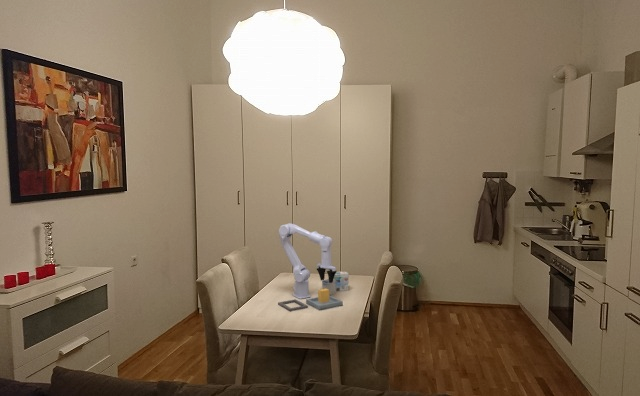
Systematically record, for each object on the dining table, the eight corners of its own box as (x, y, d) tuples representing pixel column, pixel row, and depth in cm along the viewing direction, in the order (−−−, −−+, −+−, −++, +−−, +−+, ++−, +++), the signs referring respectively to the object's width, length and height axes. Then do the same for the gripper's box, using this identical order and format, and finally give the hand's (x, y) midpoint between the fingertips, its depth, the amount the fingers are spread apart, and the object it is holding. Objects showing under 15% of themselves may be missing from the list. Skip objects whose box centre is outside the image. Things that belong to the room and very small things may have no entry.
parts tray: (306, 303, 249) (306, 299, 249) (328, 299, 257) (328, 295, 257) (319, 310, 238) (319, 305, 237) (342, 305, 245) (342, 301, 245)
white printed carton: (332, 292, 272) (332, 274, 271) (329, 289, 279) (329, 272, 278) (349, 290, 275) (349, 273, 274) (345, 287, 281) (345, 270, 281)
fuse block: (318, 303, 247) (318, 289, 247) (325, 301, 250) (325, 288, 250) (321, 304, 244) (321, 291, 244) (329, 303, 247) (329, 289, 247)
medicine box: (330, 291, 273) (330, 277, 272) (335, 293, 270) (335, 279, 269) (321, 294, 266) (321, 280, 266) (327, 296, 264) (327, 281, 263)
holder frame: (278, 304, 248) (278, 302, 248) (295, 301, 254) (295, 299, 254) (289, 311, 236) (289, 309, 236) (307, 307, 242) (307, 305, 242)
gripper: (313, 257, 259) (313, 280, 260) (329, 260, 248) (329, 285, 249) (322, 255, 263) (322, 278, 264) (338, 259, 252) (338, 282, 253)
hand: (326, 281), depth 257 cm, fingers open, 7 cm apart
